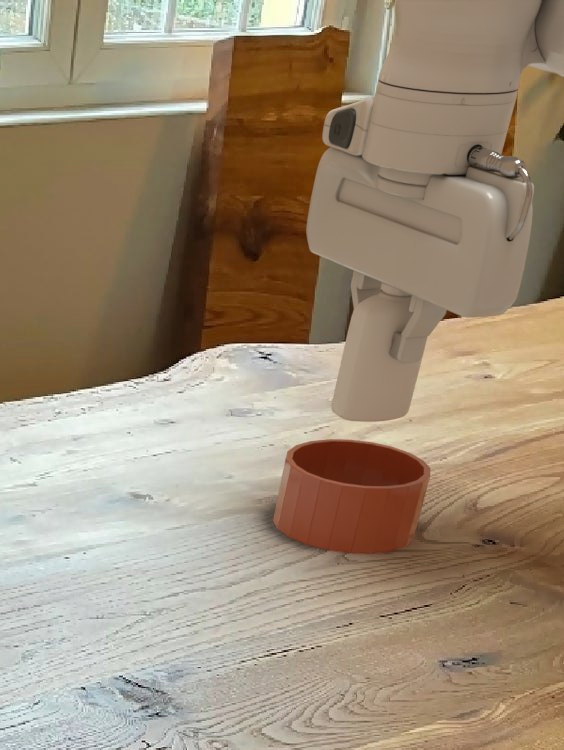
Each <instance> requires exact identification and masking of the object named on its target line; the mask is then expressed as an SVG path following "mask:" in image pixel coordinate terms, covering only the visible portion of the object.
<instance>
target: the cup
mask: <svg viewBox="0 0 564 750" xmlns="http://www.w3.org/2000/svg"><path fill="white" fill-rule="evenodd" d="M285 455H286V457H285V460H284V465H283V469H282V475H281V479H280V483H279V489H278V494H277V497H276V498H277V499H276V504H275V508H274V512H273V513H274V514H273V517H272V518H273V519H272V522H273V524H274V526H275V528H276V529H277V530H278V531H279V532H281V533H282V534H284V535H285V536H287V537H288V538H290V539H292V540H294V541H296V542H299V543H302V544H304V545H307V546H311V547H314V548H317V549H322V550H324V551H325V550H326V551H331V552H339V553H346V554H370V555H371V554H381V553H389V552H394V551H396V550H399V549H403V548H405V547H408V545H409V544H410V543H412V541H414V539H415V535H416V532H417V527H418V524H419V519H420V516H421V512H422V508H423V505H424V501H425V498H426V494H427V490H428V487H429V483H430V479H431V467H430V465H428V464H427V462H426V461H425V460H424V459H422V458H420V457H418V456H417V455H415V454H413V453H411V452H408V451H406V450H403V449H400V448H397V447H394V446H391V445H387V444H383V443H379V442H378V443H377V442H373V441H367V440H366V441H365V440H358V439H357V440H356V439H339V438H338V439H337V438H330V439H329V438H328V439H318V440H309V441H305V442H303V443H299V444H296V445H294V446H293V447H291V448H289V449H288V450H287V452H286V454H285Z"/></svg>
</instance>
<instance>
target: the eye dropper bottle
mask: <svg viewBox="0 0 564 750" xmlns="http://www.w3.org/2000/svg"><path fill="white" fill-rule="evenodd" d="M411 297H412V295H411V294H408V293H406V292H404V291H401V290H399V289H397V288H394V287H392V286H390V285H387V284H385V283H383V282H382V284H381V292H380V293H378V294H376V295H374V296H371V297H369V298H367V299H365V300H363V301H362V302H361V303H359V304H358V305H357V306H356V307H355V309H354V308H353V311H352V313H351V317H350V321H349V325H348V329H347V334H346V338H345V342H344V348H343V352H342V355H341V360H340V365H339V368H338V369H339V370H338V373H337V378H336V383H335V387H334V392H333V397H332V400H331V405H330V410H331V411H332V413H333V414H335V415H336V416H338V417H340V418H341V419H343V420H344V421H350V422H362V423H363V422H364V423H366V422H367V423H370V422H371V423H374V422H377V423H378V422H387V421H391V420H392V421H393V420H397V419H401V418H403V417H406V415H407V414H408V413H409V411H410V407H411V405H412V400H413V396H414V393H415V388H416V384H417V381H418V376H419V373H420V369H421V364H422V361H423V356H424V355H423V356H422V358H421V359H420V360H419V361H418V362H415V363H402V362H400V361H398V360H396V359H394V358H392V357H391V356H390V353H389V352H390V348H391V347H392V339H393V335H394V332H403V330H404V328H405V327H406V325H407V323H408V322H409V320H410V318H411V317H412V315H413V313H414V312H410V311H409V306H410V301H411ZM428 337H429V336H427V338H428ZM427 341H428V339H427V340H426V342H427ZM426 345H427V343H426V344H425V346H426ZM425 349H426V347H425V348H424V350H425ZM424 352H425V351H424ZM424 352H423V354H424Z"/></svg>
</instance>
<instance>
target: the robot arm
mask: <svg viewBox="0 0 564 750" xmlns="http://www.w3.org/2000/svg"><path fill="white" fill-rule="evenodd" d="M527 67H529V68H532V69H536V70H539V71H543V72H546V73H547V72H548V73H551V74H556V75H559V76H560V77H563V78H564V0H394V33H393V38H392V41H391V45H390V48H389V51H388V53H387V55H386V57H385V60H384V62H383V63H382V66H381V68H380V71H379V74H378V78H377V83H376V88H375V92H374V96H371V97H367V98H364V99H362V100H359V101H355V102H353V103H350V104H347V105H343V106H339V107H336V108H333V109H330V111H329V112H328V113H326V116H325V119H324V123H323V128H322V135H321V136H322V138H321V139H322V142H323V143H324V145H325V146H328V147H329V148H328V149H326V150H325V151H324V153H322V156H321V157H320V160H319V162H318V165H317V168H316V172H315V177H314V182H313V187H312V192H311V196H310V197H311V198H310V200H309V208H308V213H307V220H306V229H305V231H306V232H305V233H306V234H305V235H306V240H307V244H308V249H309V252H311V253H312V254H314V255H317V256H319V257H322V258H324V259H327V260H329V261H332V262H333V263H336V264H338V265H340V266H343V267H345V268H346V269H347V268H348V269H350V270H352V271H353V273H352V277H351V282H350V291H351V292H350V293H351V298H352V299H351V300H352V306H353V307H352V308H353V310H354V309H355V307H356V306H357V305H358V304H359V303H361V302H362V301H363V300H365V299H367V298H369V297H371V296H374V295H376V294H378V293H380V292H381V291H382V290H381V284H382V282H383V283H385V284H387V285H390V286H392V287H394V288H397V289H399V290H401V291H404V292H406V293H408V294H411V295H412V297H411V301H410V306H409V311H410V312H414V313H413V315H412V317H411V318H410V320H409V322H408V323H407V325H406V327H405V328H404V330H403V332H394V335H393V339H392V347H391V348H390V352H389V353H390V356H391V357H392V358H394V359H396V360H398V361H400V362H402V363H415V362H418V361H419V360H420V359H421V358H422V359H423V357H422V356H424V353H423V352H425V349H426V345H427V341H428V337H430V336H431V334H433V332H434V330H435V329H436V327H437V326H438V325H439V323H441V321H442V320H443V318H444V317H445V316H446V314H447V311H448V312H450V313H453V314H456V315H458V316H460V317H462V318H467V319H468V318H470V319H471V318H487V317H497V316H501V315H504V314H506V312H507V311H508V310H509V308H511V307H512V305H513V304H514V303H515V302H516V300H517V299H518V296H519V292H520V288H521V284H522V280H523V275H524V271H525V265H526V262H527V256H528V251H529V245H530V239H531V233H532V227H533V226H532V225H533V214H534V211H533V209H534V207H533V200H534V195H535V185H534V183H533V182H532V178H531V175H530V174H529V173H530V172H528V170H527V163H526V162H525V161H524V160H523V159H522V158H520V157H517V156H512V155H503V150H504V146H505V142H506V138H507V134H508V131H509V127H510V124H511V120H512V116H513V112H514V108H515V105H516V100H517V97H518V93H519V89H520V86H521V85H520V84H521V80H522V74H523V71H524V70H525V69H526V68H527ZM520 177H521V178H522V179H521V178H520ZM427 336H428V337H427ZM426 340H427V341H426ZM425 344H426V345H425ZM424 348H425V349H424Z"/></svg>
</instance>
